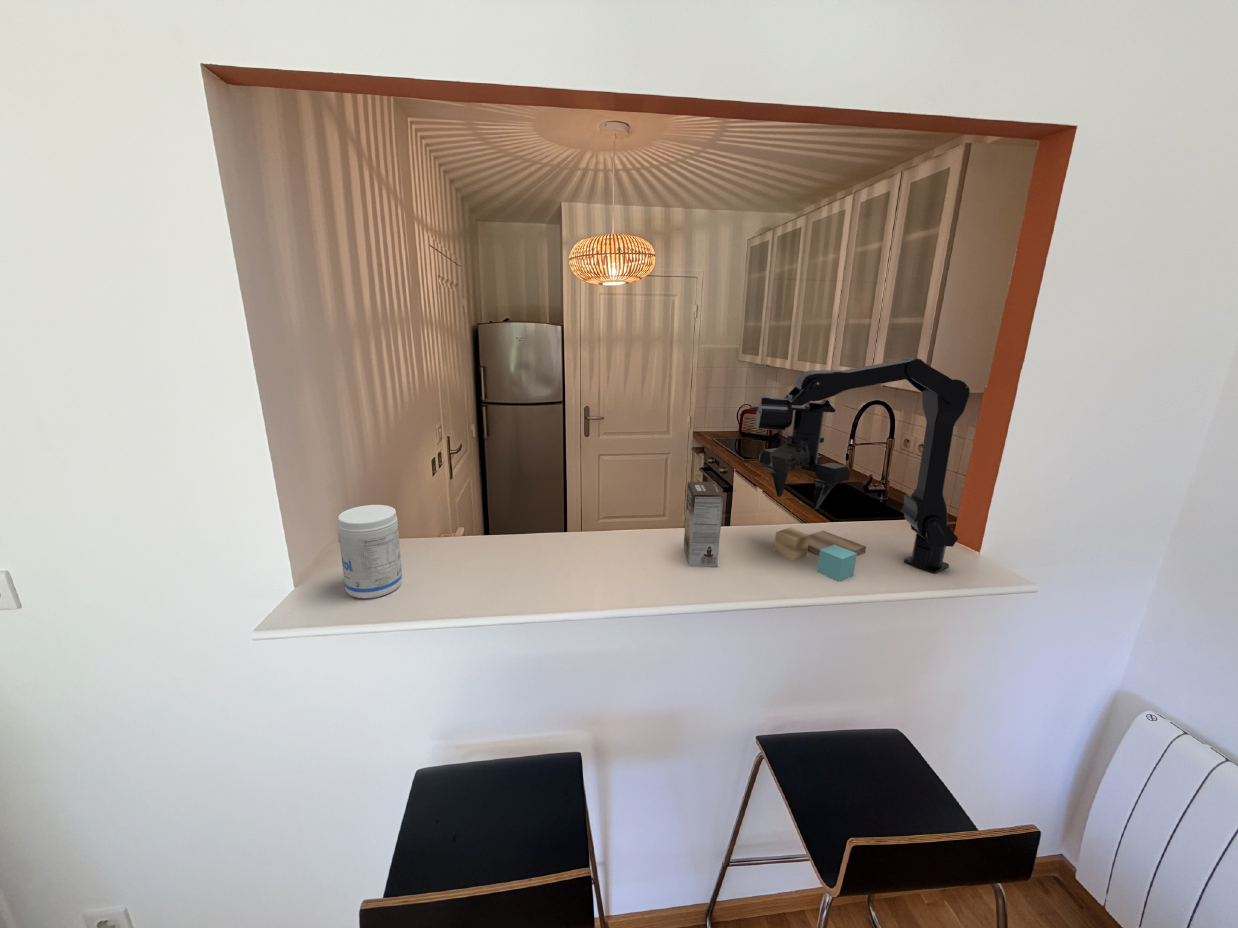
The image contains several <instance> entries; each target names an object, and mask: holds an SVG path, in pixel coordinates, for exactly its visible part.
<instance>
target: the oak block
mask: <svg viewBox="0 0 1238 928" xmlns="http://www.w3.org/2000/svg"><path fill="white" fill-rule="evenodd" d="M809 536H810V534H808V533H805V532H803V531H801V530H798V529H796V528H792V527H788V528H783V529H781V530H778V531H776V532H775V540H774V548H773V553H775V554H777V555H779V556H782V557H784V558H786V559H788V560H790V561H795V560H798V559H800V558H804V557H807V556H808V544H809ZM806 555H807V556H806Z"/></svg>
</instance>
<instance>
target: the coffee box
mask: <svg viewBox="0 0 1238 928" xmlns="http://www.w3.org/2000/svg"><path fill="white" fill-rule="evenodd" d="M686 488H687V490H686V501H685V502H686V504H685V505H686V506H685V518H684V519H685V520H684V522H685V523H684V534H683V535H684V536H683V550H684V553H685V558H686V561H687V564H688V566H689V567H697V568H698V567H699V568H700V567H702V568H703V567H704V568H705V567H708V568H709V567H711V568H712V567H713V568H717V567H718V561H719V551H720V550H719V549H720V541H721V530H722V529H721V528H722V518H723V507H724V496H725V495H724V494H723V491H722V490H721V489H720V487H719V485H718V483H717V482H716V481H687V487H686Z"/></svg>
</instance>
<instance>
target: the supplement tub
mask: <svg viewBox="0 0 1238 928" xmlns="http://www.w3.org/2000/svg"><path fill="white" fill-rule="evenodd" d="M398 523H399V522H398V516H397V511H396V509H395V508H394V507H392V506H390V505H386V504H385V505H384V504H367V505H361V506H356V507H351V508H349V509H346V510H344V511H343V512H341V513H340V514H339V515H338V517H337V530H338V539H339V546H340V549H339V550H340V555H341V564H342V572H343V581H344V588H345V591H346V593H347V594H348V595H349V596H351V597H353V598H356V599H375V598H380V597H383V596H386V595H388V594H390V593H392V592H394V591H396V590H397V589H398V588H399V587H400V586H401V584H402V581H403V570H402V559H401V546H400V535H399V534H400V533H399V524H398Z"/></svg>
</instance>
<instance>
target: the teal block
mask: <svg viewBox="0 0 1238 928" xmlns="http://www.w3.org/2000/svg"><path fill="white" fill-rule="evenodd" d="M856 561H857V553H855V552H852V551H849V550H847V549H844V548H842V547H839V546H837V545H832V546H829V547H826V548H824V549H821V550H820V553H819V556H818V562H817V568H816V573H819V574H821V575H823V576H825V575H826V576H825V577H827V578H830V579H832V578H833V579H832V580H835V581H836V580H837V582H839V581H840V582H842V581H844V580H846V579H848V577H849V578H851V577H853V576H854V573H855V569H856V568H855V567H856ZM852 575H853V576H852ZM841 580H842V581H841Z"/></svg>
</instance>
